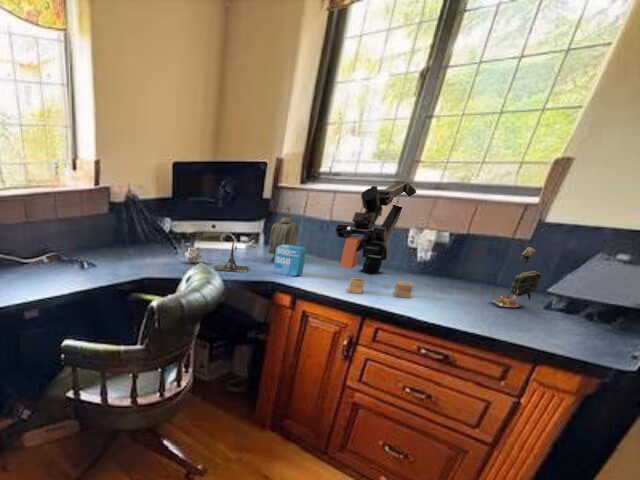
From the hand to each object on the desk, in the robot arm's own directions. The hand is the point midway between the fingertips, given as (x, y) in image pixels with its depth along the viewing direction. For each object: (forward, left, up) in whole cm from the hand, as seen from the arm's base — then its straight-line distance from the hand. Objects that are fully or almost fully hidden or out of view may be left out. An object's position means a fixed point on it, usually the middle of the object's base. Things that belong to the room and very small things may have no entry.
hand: (350, 250), depth 167 cm
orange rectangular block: (-1, -1, -7) cm, 7 cm away
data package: (+12, -21, -14) cm, 28 cm away
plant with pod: (-34, +42, -14) cm, 55 cm away
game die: (+44, -55, -14) cm, 72 cm away
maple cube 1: (+3, +11, -13) cm, 18 cm away
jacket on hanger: (0, -45, -14) cm, 47 cm away
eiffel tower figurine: (+31, -38, -14) cm, 51 cm away
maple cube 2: (-9, +21, -13) cm, 26 cm away
